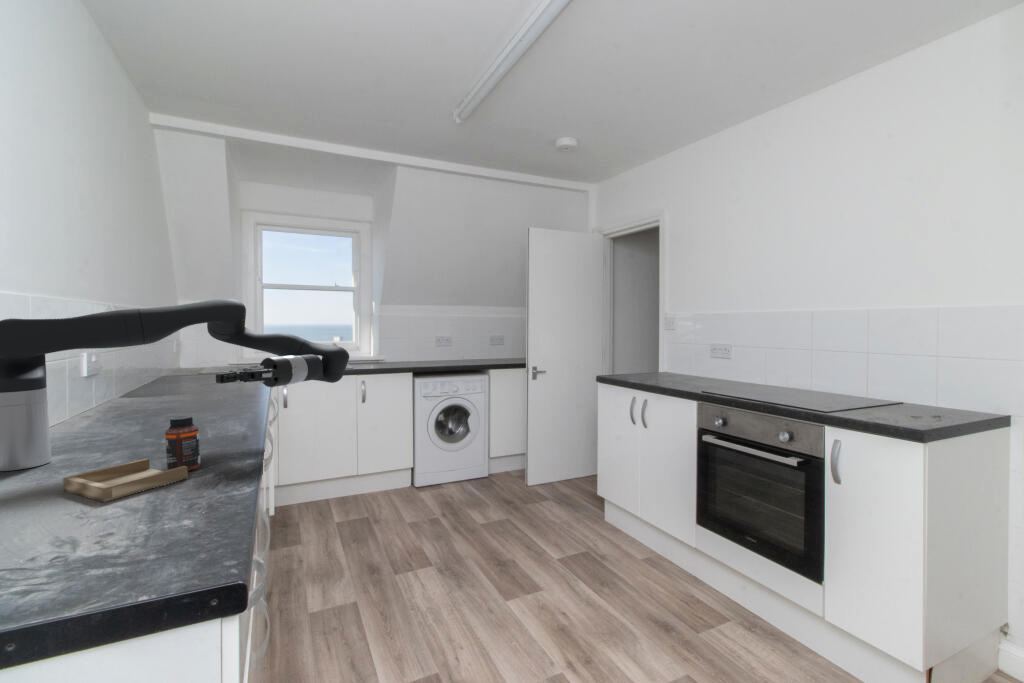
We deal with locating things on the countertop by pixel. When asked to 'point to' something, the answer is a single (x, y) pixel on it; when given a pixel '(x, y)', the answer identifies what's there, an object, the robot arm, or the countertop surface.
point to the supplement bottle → (182, 443)
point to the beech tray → (121, 480)
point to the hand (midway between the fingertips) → (217, 378)
